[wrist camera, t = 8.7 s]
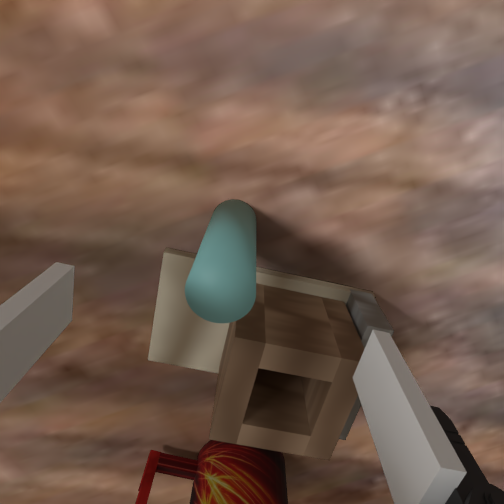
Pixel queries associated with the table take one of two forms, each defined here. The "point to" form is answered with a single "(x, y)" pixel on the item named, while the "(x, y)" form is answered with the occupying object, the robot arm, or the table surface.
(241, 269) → the dowel
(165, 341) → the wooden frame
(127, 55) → the table surface
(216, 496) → the mug
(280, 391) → the block
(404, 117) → the table surface
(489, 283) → the table surface
